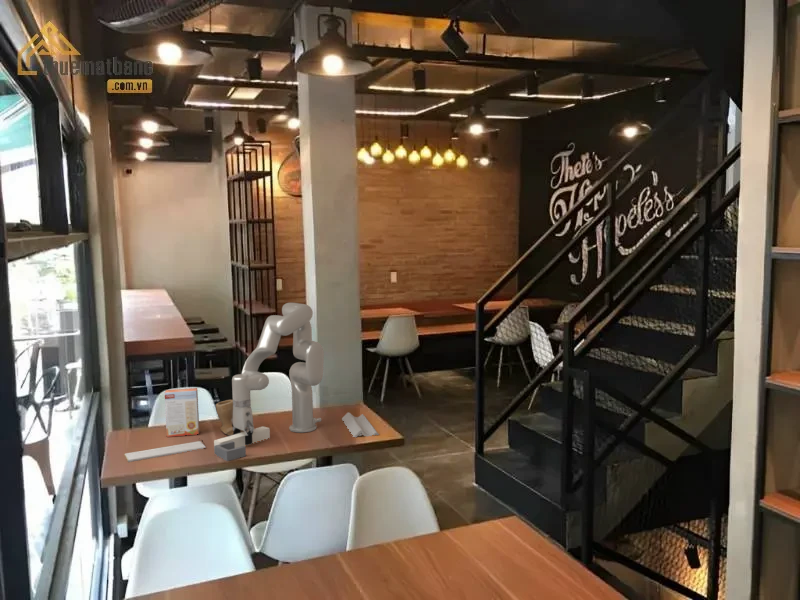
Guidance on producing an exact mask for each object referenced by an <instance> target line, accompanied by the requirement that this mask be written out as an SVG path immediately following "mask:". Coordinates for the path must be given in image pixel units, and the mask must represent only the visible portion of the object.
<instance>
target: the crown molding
mask: <svg viewBox="0 0 800 600" xmlns="http://www.w3.org/2000/svg"><path fill="white" fill-rule="evenodd" d="M341 420H342V422H343V421H344V422H343V423H344V425H345V427H346V426H347V427H346V428H347V430H348V429H349V430H348V431H349V433H350V432H351V433H350V434H352V435H353V436H352V435H351V436H352V438H353V437H355V438H357V437H361V436H364V437H365V436H366V437H373V436H372V435H374V436H379V435H380V433H378V431H377V430H376V428H375V427H374V425H372V424H371V422H370V421H369V419H368V418H367V417H366V416H365V415H364V413H361V414H360V415H359V416H354V415H353V414H352V413H351V412H350V411H349V412H348V411H347V412H346V413H345V415H344V416H343V417H342V418H341Z"/></svg>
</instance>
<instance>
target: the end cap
mask: <svg viewBox="0 0 800 600" xmlns="http://www.w3.org/2000/svg"><path fill="white" fill-rule="evenodd" d="M213 449H214V450H213V451H214V453H213V454H214V455H215V454H216V455H217V456H216V455H215V456H216V457H218V456H219V457H218V458H220V457H221V458H220V459H222V458H223V459H222V460H223V461H226V462H229V461H234V460H237V459H240V457H241V458H244V457H246V456H247V453H246V451H247V449H246V446H242V447H238V448H235V443H234V442H233V441H231V442H227V443H223V444H219V445H215V446H214V445H213Z"/></svg>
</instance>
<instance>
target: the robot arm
mask: <svg viewBox="0 0 800 600" xmlns="http://www.w3.org/2000/svg"><path fill="white" fill-rule="evenodd" d="M313 314H314V313H313V309H312V307H311V306H310V305H308V304H307V303H305V304H304V303H299V302H287V303H285V304H283V305H282V307H281V315H279V314H277V315H276V314H275V315H274V314H273V315H272V314H271V315H269V316H268V317H267V318H266V320H265V322H264V325H263V328H262V331H261V334H260V337H259V339H258V343H257V346H256V348H255V349H254V350H253V351H252V352H251V353H250V354H249V355H248V357H247V359H246V360H245V361H244V364H243V367H242V370H241V373H240V374H239V373H238V374H235V375H233V376H232V379H231V388H232V391H231V392H232V394H231V395H232V400H233V418H232V419H231V422H232V426H233V435H235V434H238V433H241V432H240V430H243V431H244V432H245V434H246V436H245V445H247V446H250V445H253V444H252V435H253V430H254V429H255V426H254V418H253V411H252V406H251V401H252V400H251V391H261V390H265V389H266V388H267V387H268V385H269V384H270V379H269V377H268V375H267V374H265V373H263V372H260V371H258V370H259V367H260V365H261V364H262V363H263V361H264V360H265V359H267V358H268V357H270V356H271V357H272V356H273V355H275V353H276V352H277V350H278V346H279V343H280V340H281V337H282V336H284V337H285V336H289V335H291V334H293V335H292V336H293V339H292V341H293V342H292V353H293V357H294V358H295V359H298V360H301V361H302V362H301V361H298V362H295V363H293V364H292V365H291V366H290V369H289V371H288V372H289V374H288V376H289V380H290V385H291V408H292V409H291V411H292V418H291V419H292V424H290V425H289V428H288V429H289V431H290V432H293V433H300V434H301V433H310V432H313V431H316V430H317V423H320V422H322V418H321V417H317V418H316V417H314V412H313V411H314V409H313V407H314V406H313V405H314V404H313V401H314V400H313V387H315V386H318V385H320V383H321V382H322V379H323V377H324V359H325V356H324V355H325V354H324V353H325V352H324V348H323V346H322V344H321V343H320V342H318V341H315V340H313V331H312V328H313V327H312V324H311V320H312V317H313ZM303 361H305V362H303ZM239 429H240V430H239ZM247 431H248V433H247ZM249 444H250V445H249Z"/></svg>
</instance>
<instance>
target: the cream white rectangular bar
mask: <svg viewBox="0 0 800 600" xmlns="http://www.w3.org/2000/svg"><path fill="white" fill-rule="evenodd" d="M248 431H249V430H247V433H248ZM270 434H271V430H270V427H266V426H259V427H256V428H254V430H253V435H252V443H253V444H255V443H254V442H256V443H258V442H257V441H260V442H262V441H261V440H263V441H265V440H264V439H266V440H269V439H271V435H270ZM245 436H246V434H245V432H242V433H238V434H235V435H227V436H225V437H224V436H223V437H221V438H218V439H214V440H213V447H214V446H215V445H219V444H223V443H227V442H231V441H233V442H234V443H235V448H238V447H242V446H245ZM268 438H269V439H268ZM245 447H246V446H245Z"/></svg>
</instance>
